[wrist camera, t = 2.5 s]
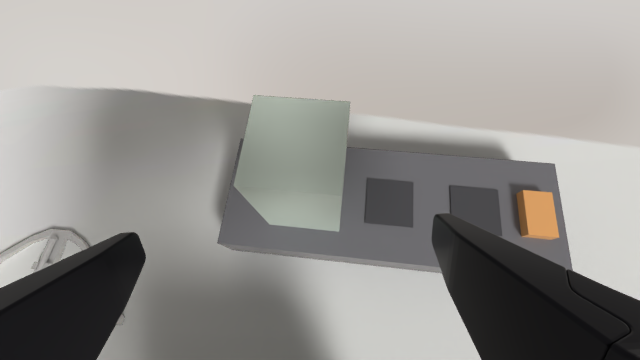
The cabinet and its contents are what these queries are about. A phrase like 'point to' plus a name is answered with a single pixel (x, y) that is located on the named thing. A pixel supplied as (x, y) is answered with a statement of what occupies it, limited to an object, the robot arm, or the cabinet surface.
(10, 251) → the crossbow
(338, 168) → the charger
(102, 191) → the cabinet surface
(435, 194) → the power strip
